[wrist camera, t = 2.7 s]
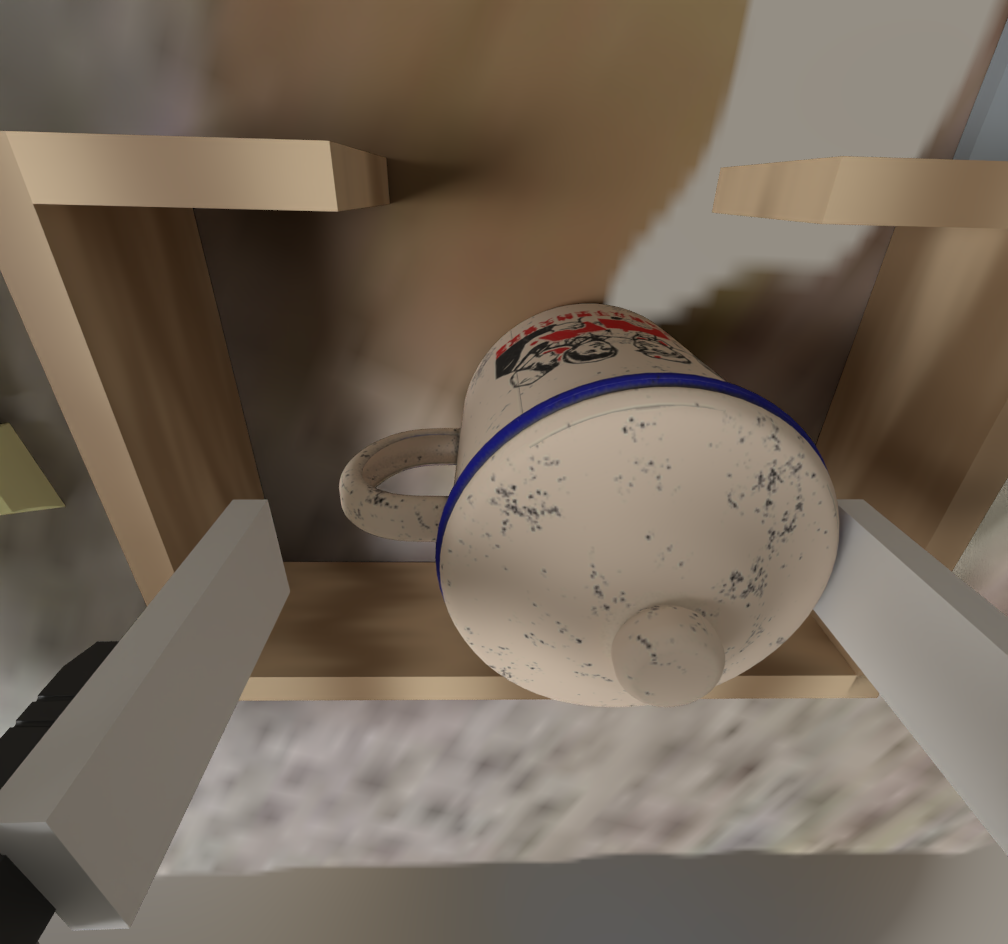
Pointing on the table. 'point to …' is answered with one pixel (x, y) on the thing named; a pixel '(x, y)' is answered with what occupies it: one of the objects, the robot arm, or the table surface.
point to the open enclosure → (414, 585)
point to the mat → (989, 113)
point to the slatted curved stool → (22, 478)
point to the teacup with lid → (612, 513)
